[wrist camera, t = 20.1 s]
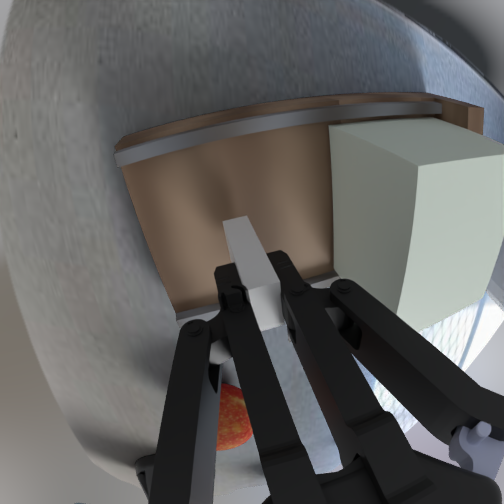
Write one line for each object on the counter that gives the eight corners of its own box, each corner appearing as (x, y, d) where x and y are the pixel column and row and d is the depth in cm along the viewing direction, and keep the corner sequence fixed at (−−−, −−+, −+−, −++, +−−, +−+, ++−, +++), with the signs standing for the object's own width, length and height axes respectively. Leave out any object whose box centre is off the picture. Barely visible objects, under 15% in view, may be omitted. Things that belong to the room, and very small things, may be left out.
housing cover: (333, 268, 23) (388, 345, 17) (328, 125, 17) (418, 166, 10) (421, 240, 24) (482, 297, 18) (432, 117, 18) (521, 152, 11)
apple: (247, 398, 37) (262, 451, 30) (185, 410, 36) (192, 464, 29) (240, 364, 32) (258, 426, 26) (167, 378, 31) (172, 441, 25)
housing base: (178, 298, 26) (183, 357, 20) (123, 136, 18) (100, 162, 12) (418, 231, 28) (459, 267, 23) (426, 92, 20) (483, 108, 15)
